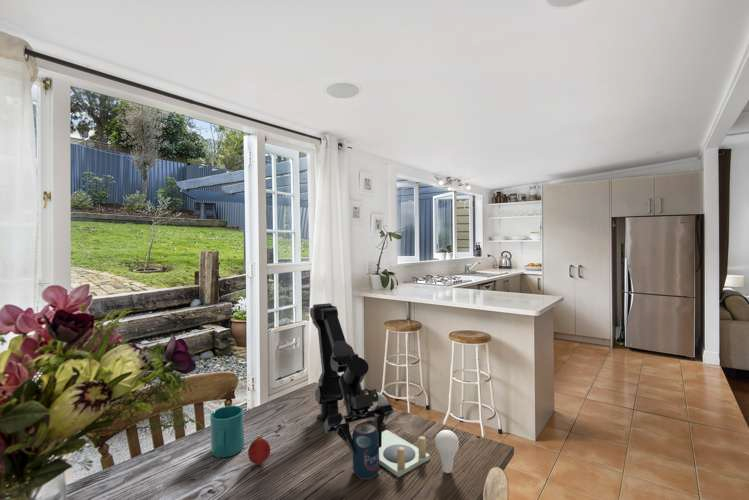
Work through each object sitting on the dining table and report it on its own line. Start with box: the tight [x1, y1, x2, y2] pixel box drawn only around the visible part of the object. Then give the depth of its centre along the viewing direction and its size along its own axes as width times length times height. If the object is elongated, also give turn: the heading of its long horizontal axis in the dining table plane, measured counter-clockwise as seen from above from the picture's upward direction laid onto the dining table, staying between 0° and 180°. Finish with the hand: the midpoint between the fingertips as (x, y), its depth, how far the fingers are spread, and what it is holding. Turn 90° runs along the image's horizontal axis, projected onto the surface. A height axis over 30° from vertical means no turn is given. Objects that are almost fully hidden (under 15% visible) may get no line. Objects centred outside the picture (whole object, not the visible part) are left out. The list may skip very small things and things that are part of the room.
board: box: [379, 429, 431, 478], centre depth 106 cm, size 18×12×6 cm, turn 39°
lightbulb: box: [434, 429, 460, 474], centre depth 97 cm, size 6×6×11 cm
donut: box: [365, 391, 389, 422], centre depth 125 cm, size 10×4×10 cm, turn 93°
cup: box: [209, 405, 245, 459], centre depth 108 cm, size 9×12×11 cm
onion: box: [247, 435, 271, 466], centre depth 102 cm, size 6×6×8 cm
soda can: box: [351, 421, 380, 480], centre depth 98 cm, size 7×7×12 cm
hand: (367, 450), depth 96 cm, fingers closed on soda can, 7 cm apart
